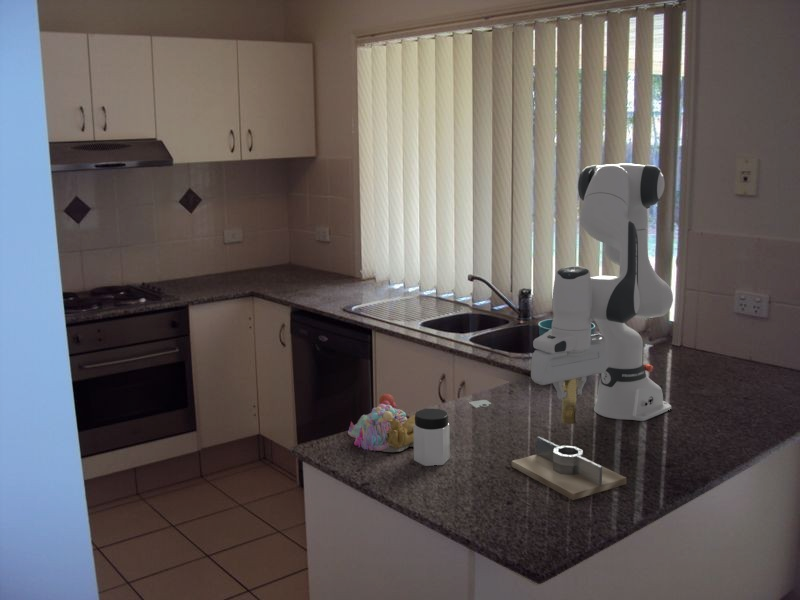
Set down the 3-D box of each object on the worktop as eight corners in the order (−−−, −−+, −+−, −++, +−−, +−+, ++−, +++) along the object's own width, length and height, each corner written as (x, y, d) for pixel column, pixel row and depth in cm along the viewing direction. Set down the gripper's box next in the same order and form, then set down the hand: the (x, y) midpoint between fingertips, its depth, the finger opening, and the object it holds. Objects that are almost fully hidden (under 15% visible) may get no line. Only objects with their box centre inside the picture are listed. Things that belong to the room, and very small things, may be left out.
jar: (423, 451, 218) (423, 406, 216) (453, 455, 215) (453, 410, 213) (409, 463, 210) (408, 417, 208) (440, 469, 207) (440, 421, 205)
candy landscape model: (454, 435, 230) (453, 402, 228) (394, 462, 213) (394, 426, 211) (385, 415, 246) (385, 384, 244) (325, 438, 229) (324, 405, 227)
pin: (569, 418, 201) (570, 369, 199) (578, 422, 199) (580, 372, 196) (558, 421, 200) (560, 371, 198) (568, 424, 197) (569, 374, 195)
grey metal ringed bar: (548, 451, 213) (548, 434, 212) (611, 482, 194) (612, 463, 193) (527, 456, 210) (527, 439, 209) (589, 488, 191) (589, 470, 190)
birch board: (562, 453, 215) (562, 447, 215) (626, 484, 197) (626, 477, 197) (511, 466, 208) (511, 460, 207) (572, 500, 189) (573, 493, 189)
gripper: (595, 329, 203) (593, 386, 206) (527, 341, 193) (526, 400, 196) (614, 335, 198) (612, 392, 201) (545, 347, 188) (544, 407, 191)
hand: (569, 396), depth 198 cm, fingers closed on pin, 3 cm apart
